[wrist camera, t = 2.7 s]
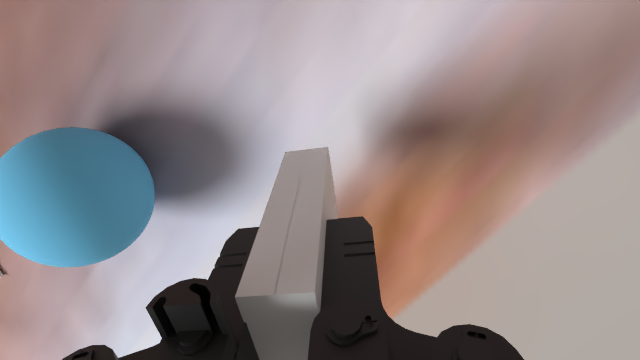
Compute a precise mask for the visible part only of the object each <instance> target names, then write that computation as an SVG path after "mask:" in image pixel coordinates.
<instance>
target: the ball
mask: <svg viewBox="0 0 640 360" xmlns="http://www.w3.org/2000/svg"><path fill="white" fill-rule="evenodd" d="M154 201H155V190H154V183H153V179H152V176H151V174H150V171H149V169H148V167H147V165H146V164H145V162H144V161H143V159H142V158H141V157H140V156H139V154H138V153H137V152H136V151H135V150H134V149H132V148H131V147H130V146H129V145H127V144H126V143H124V142H123V141H121V140H120V139H118V138H116V137H114V136H111V135H109V134H106V133H104V132H101V131H97V130H93V129H87V128H76V127H70V128H57V129H52V130H48V131H43V132H40V133H38V134H35V135H33V136H30V137H27V138H26V139H24V140H23V141H21V142H19V143H18V144H16V145H14V146H13V147H12V148H11V149H10V150H8V151H7V152H6V153H5V154H4V155H3V156H2V157H1V158H0V239H1V240H2V241H3V242H4V243H5V244H6V245H7V246H8V247H9V248H10V249H12V250H13V251H14V252H16V253H18V254H19V255H21V256H23V257H25V258H27V259H29V260H32V261H34V262H37V263H41V264H44V265H50V266H57V267H79V266H85V265H90V264H94V263H98V262H101V261H104V260H106V259H108V258H111V257H113V256H115V255H116V254H118V253H120V252H121V251H123V250H124V249H126V248H127V247H128V246H130V245H131V244H132V243H133V242H134V241H135V240H136V239H137V238H138V237H139V236H140V234H141V233H142V232H143V230H144V229H145V227H146V226H147V224H148V222H149V220H150V217H151V215H152V211H153V207H154Z"/></svg>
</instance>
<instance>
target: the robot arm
mask: <svg viewBox="0 0 640 360" xmlns="http://www.w3.org/2000/svg"><path fill="white" fill-rule="evenodd" d="M146 309H147V311H148V313H149V315H150V317H151V318H152V320H153V322H154V324H155V326H156V328H157V330H158V331H159V333H160V335H161V337H162V340H161V342H160V343H159V344H157V345H155V346H153V347H150V348H147V349H144V350H141V351H138V352H135V353H132V354H129V355H126V356H123V357H120V358H118V357H117V356H116V354H115V353H114V351H113V350H112V349H111V348H109V347H107V346H105V345H92V346H89V347H86V348H83V349H80V350H77V351H76V352H74V353H72V354H70V355H69V356H67V357H65V358H63V359H62V360H524V359H523V358H522V356H521V355H520V354H519V353H518V351H517V350H516V349H515V348H514V347H513V346H512V345H511V344H510V343H509V342H508V341H507V340H506V339H505V338H503V337H502V336H501V335H499V334H497V333H495V332H493V331H491V330H489V329H487V328H484V327H479V326H475V325H470V324H468V325H457V326H452V327H450V328H448V329H447V330H444V331H442V332H441V333H440V334H439V336H438V337H433V336H428V335H424V334H420V333H416V332H413V331H410V330H407V329H405V328H403V327H401V326H400V325H398V324H396V323H395V322H394V321H393V320H392V319H391V318H390V317H389V316H388V315H387V313H386V312H385V310H384V309H383V306H382V302H381V297H380V289H379V280H378V272H377V264H376V256H375V248H374V239H373V231H372V227H371V225H370V224H369V223H368V222H367V221H366V220H365V218H364V217H363V216H362V217H351V218H340V219H338V211H337V204H336V197H335V191H334V184H333V177H332V170H331V164H330V157H329V150H328V147H325V148H316V149H308V150H299V151H290V152H285V155H284V158H283V161H282V163H281V166H280V169H279V172H278V175H277V178H276V181H275V184H274V186H273V189H272V192H271V195H270V198H269V201H268V204H267V206H266V209H265V212H264V215H263V218H262V221H261V224H260V227H253V228H242V229H238V230H237V231H236V232H235V233H234V234H233V235H232V236H231V237H230V238H229V239H228V240H227V241H226V242H225V244H224V247H223V249H222V251H221V253H220V257H218V260H217V262H216V264H215V269H213V270H212V273H211V275H210V277H209V279H208V280H206V279H197V278H193V279H188V280H184V281H180V282H178V283H176V284H173V285H171V286H169V287H167V288H166V289H164V290H163V291H162V292H160V293H159V294H158V295H156V296H155V297H154V298H153V299H152V301H151V302H150V303H149V304H148V305H147V307H146Z"/></svg>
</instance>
